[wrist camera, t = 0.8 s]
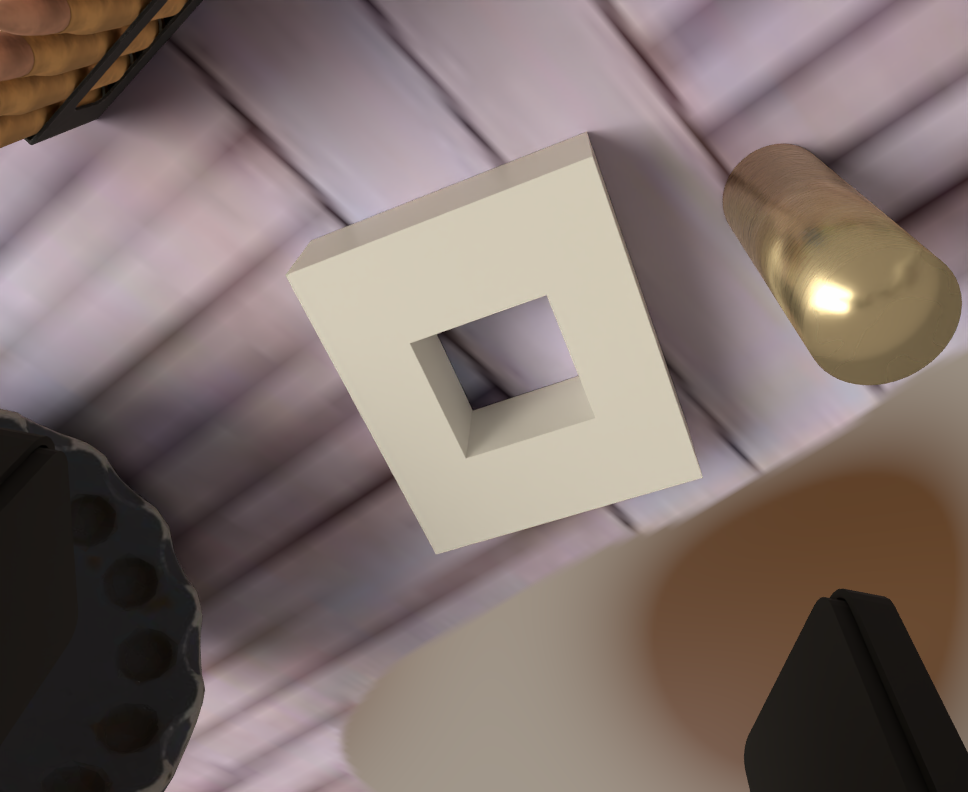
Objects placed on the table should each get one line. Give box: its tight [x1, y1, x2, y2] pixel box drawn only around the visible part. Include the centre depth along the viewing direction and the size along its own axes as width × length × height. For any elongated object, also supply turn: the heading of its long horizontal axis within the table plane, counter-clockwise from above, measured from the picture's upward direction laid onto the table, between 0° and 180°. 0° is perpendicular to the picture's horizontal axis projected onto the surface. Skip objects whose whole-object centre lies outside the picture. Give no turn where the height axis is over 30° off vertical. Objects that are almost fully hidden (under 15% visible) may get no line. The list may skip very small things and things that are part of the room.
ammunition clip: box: [0, 0, 203, 148], centre depth 26 cm, size 11×2×12 cm, turn 131°
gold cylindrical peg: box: [723, 144, 962, 385], centre depth 28 cm, size 4×4×12 cm
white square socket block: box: [286, 132, 703, 554], centre depth 35 cm, size 12×14×4 cm
